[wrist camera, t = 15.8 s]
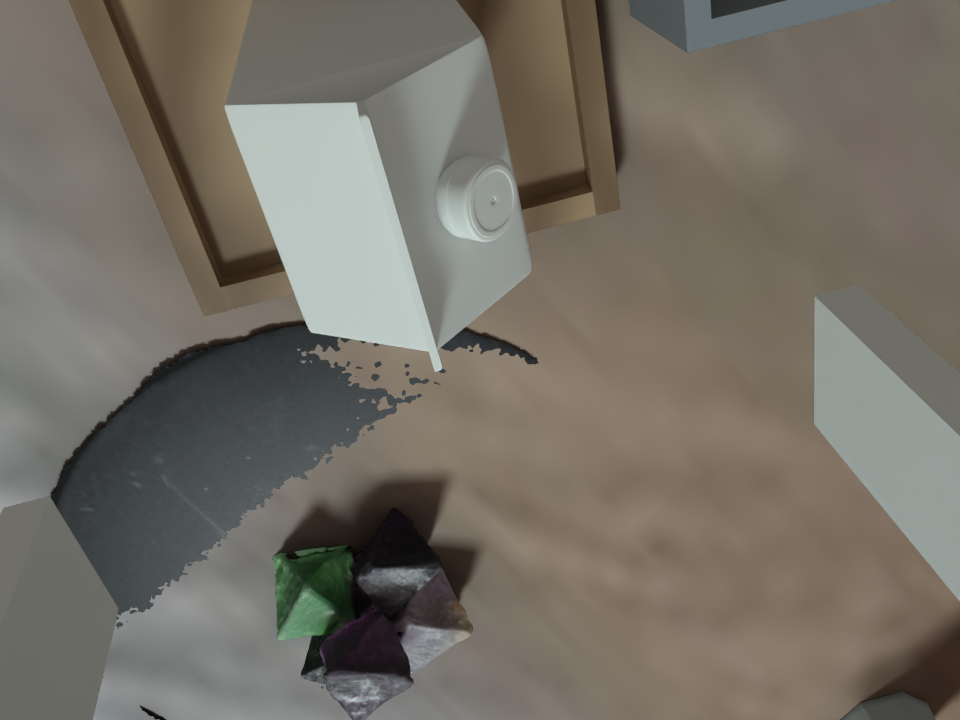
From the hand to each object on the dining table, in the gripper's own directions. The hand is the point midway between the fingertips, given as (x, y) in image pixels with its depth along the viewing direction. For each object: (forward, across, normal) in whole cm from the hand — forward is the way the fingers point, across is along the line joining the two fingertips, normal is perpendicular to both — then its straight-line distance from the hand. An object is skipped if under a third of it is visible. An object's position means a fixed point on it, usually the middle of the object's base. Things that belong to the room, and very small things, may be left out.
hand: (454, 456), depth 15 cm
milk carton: (+27, 0, 0) cm, 27 cm away
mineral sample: (+29, +8, +28) cm, 41 cm away
